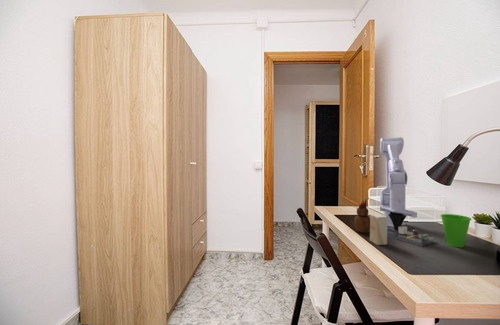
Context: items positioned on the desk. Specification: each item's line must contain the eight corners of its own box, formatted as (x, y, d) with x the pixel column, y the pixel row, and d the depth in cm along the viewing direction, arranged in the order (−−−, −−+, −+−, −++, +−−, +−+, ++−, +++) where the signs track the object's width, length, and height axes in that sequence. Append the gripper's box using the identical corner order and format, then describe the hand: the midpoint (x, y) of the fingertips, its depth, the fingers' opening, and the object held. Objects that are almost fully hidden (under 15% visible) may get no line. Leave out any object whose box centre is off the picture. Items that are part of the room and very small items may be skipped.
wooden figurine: (367, 229, 109) (367, 198, 109) (372, 233, 104) (372, 200, 103) (352, 229, 110) (352, 198, 110) (357, 233, 104) (357, 200, 104)
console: (387, 229, 110) (387, 221, 110) (434, 241, 93) (434, 233, 93) (374, 232, 105) (374, 224, 105) (421, 246, 89) (421, 237, 89)
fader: (402, 231, 100) (402, 225, 100) (407, 233, 99) (407, 226, 99) (398, 233, 99) (398, 226, 99) (403, 234, 97) (403, 227, 97)
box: (369, 240, 96) (369, 213, 95) (379, 240, 96) (379, 213, 96) (377, 245, 91) (377, 217, 90) (388, 244, 91) (388, 216, 91)
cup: (470, 244, 90) (471, 216, 90) (471, 251, 84) (471, 221, 83) (441, 239, 96) (441, 212, 96) (439, 245, 90) (439, 217, 89)
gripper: (375, 197, 105) (375, 227, 105) (410, 203, 92) (410, 236, 93) (385, 196, 108) (385, 224, 109) (419, 201, 96) (419, 233, 96)
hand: (397, 230), depth 101 cm, fingers closed
